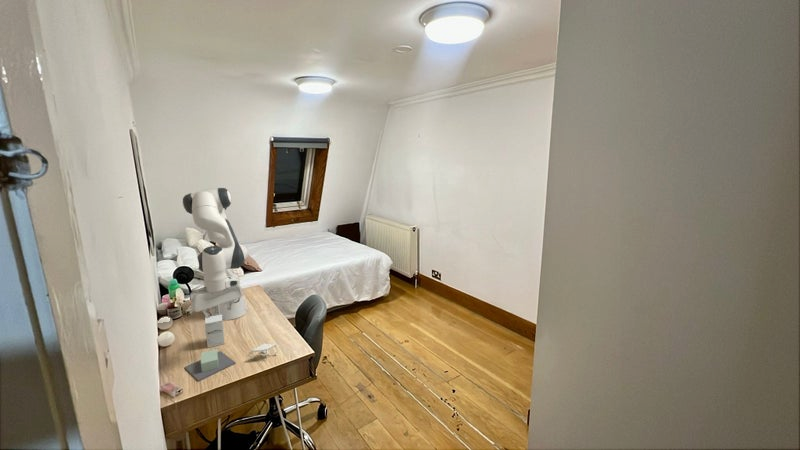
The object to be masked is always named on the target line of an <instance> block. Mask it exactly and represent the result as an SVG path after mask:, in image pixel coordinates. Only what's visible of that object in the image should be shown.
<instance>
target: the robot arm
mask: <svg viewBox="0 0 800 450" xmlns="http://www.w3.org/2000/svg"><path fill="white" fill-rule="evenodd" d="M231 204H232V195H231V193H230V191H228V189H227V188H226V187H218V188H209V189H204V190H201V191H195V192H190V193H188V194H185V195H184V196H183V197H182V205H183V206H182V207H183V208H184V210H185V212H187V213H189V214H190V215H192V219H193V222H194V224H195V226H197V227H198V228H199V229H201V230H204V231H206V235H207V237H208V239H209V241H211V242H212V243H216V244H217V245H218V246H217V245H211V246H207V247H205V248H204V249H202V251H201V252H200V253H199V254H198V255H197V256H196V257H197V260H198V270H199V271H200V272H202V273H203V274H204V275H203V286H204V287H201V288H199V289H194V290H193V291H192V292H190V294H189V299H190V308H191V311H193V312H195V313H199V312H201V313H203V314H204V319H205V318H209V317H210V316H215V315H221V314H222V320H223V321H229V320H230V321H231V320H234V319H239V318H240V317H243V316H244V315H246V314H247V311H248V310H250V309H249V306H247V303H246V298H245V296H244V295H243V290H242V286H241V280H240V279H241V278H240V276H239V275H238V274H237V273H235V272H232V270H235V269H237V270H238V269H239V268H241V267H242V266H243V265H244V264H245V261H246V260H247V259H248V258H249V257H248V256H249V250H248V249H247V247H246V246H245V245H243V244H241V243H240V242H239V241H238V238H237V236H236V233H235V232H234V229H233V227H232V225H231V222H230V221H229V220H228V216H227V214H226V211H227V209H228V207H230V206H231ZM231 269H232V270H231ZM208 309H209V311H208ZM207 311H208V312H207Z"/></svg>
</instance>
